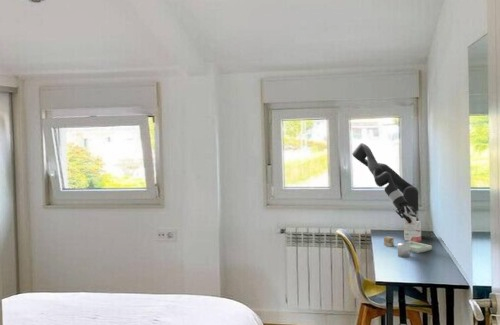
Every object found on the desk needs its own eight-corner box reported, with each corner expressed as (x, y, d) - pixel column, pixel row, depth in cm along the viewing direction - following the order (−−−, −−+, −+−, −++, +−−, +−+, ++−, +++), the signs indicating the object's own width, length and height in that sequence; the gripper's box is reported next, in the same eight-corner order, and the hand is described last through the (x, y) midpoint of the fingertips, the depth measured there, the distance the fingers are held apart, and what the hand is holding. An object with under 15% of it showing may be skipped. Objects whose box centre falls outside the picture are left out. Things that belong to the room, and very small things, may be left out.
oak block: (388, 244, 281) (388, 236, 281) (393, 245, 278) (393, 237, 278) (384, 245, 279) (383, 237, 279) (389, 246, 276) (388, 238, 276)
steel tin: (401, 253, 258) (401, 241, 257) (412, 255, 253) (411, 243, 253) (395, 256, 254) (395, 244, 253) (406, 258, 249) (406, 245, 248)
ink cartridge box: (421, 241, 266) (421, 216, 265) (416, 242, 263) (416, 217, 262) (408, 238, 273) (408, 214, 272) (403, 239, 270) (403, 215, 269)
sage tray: (410, 245, 278) (410, 240, 277) (431, 249, 265) (431, 245, 265) (397, 247, 272) (397, 243, 271) (418, 253, 259) (417, 248, 258)
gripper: (402, 202, 282) (418, 224, 272) (386, 204, 275) (401, 227, 265) (409, 194, 277) (425, 216, 267) (392, 196, 270) (409, 219, 260)
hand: (413, 221), depth 266 cm, fingers closed on ink cartridge box, 5 cm apart
